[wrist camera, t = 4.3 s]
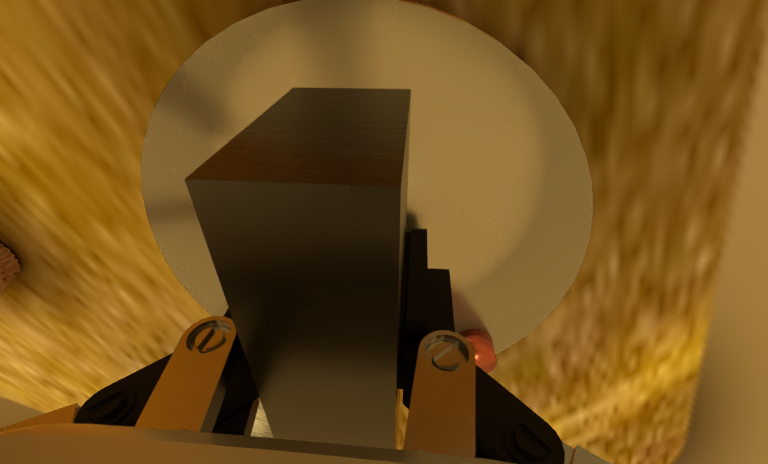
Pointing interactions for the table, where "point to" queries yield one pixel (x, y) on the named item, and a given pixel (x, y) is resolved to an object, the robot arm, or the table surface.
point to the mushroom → (7, 267)
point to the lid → (361, 197)
